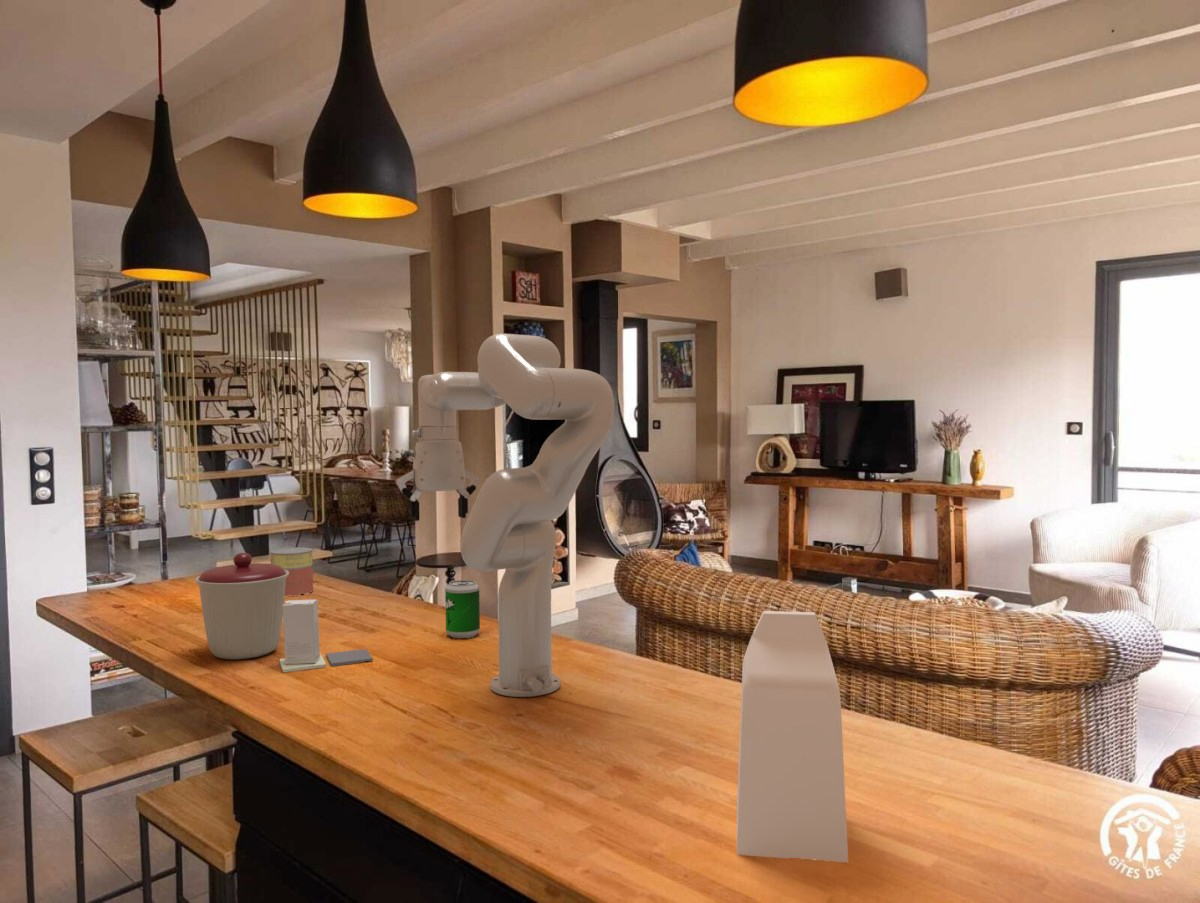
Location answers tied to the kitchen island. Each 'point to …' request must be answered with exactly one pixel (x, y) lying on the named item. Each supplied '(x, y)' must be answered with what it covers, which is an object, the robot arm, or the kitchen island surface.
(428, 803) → the kitchen island surface
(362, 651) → the slate pad
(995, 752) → the kitchen island surface
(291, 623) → the skincare box
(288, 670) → the sage pad
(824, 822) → the milk
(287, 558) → the canned food
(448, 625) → the soda can
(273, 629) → the canister
